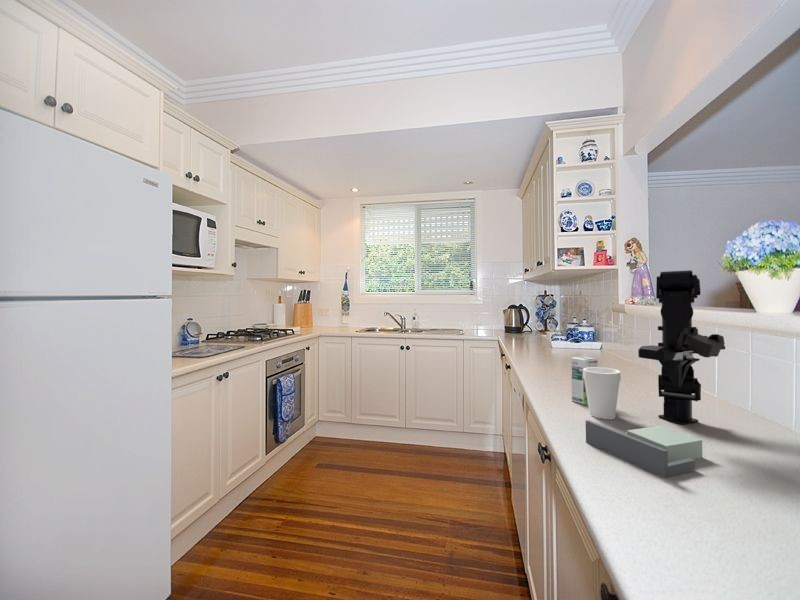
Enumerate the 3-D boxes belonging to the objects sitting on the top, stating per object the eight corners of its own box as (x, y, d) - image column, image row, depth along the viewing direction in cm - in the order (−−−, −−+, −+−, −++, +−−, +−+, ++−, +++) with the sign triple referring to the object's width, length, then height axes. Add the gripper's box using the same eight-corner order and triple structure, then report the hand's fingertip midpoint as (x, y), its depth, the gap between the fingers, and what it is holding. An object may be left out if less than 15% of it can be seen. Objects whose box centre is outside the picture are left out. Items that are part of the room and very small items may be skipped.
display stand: (613, 437, 86) (612, 416, 86) (695, 470, 69) (694, 444, 69) (585, 441, 83) (585, 420, 83) (664, 477, 66) (663, 451, 66)
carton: (660, 442, 83) (660, 425, 83) (702, 459, 74) (702, 440, 74) (626, 448, 80) (626, 430, 80) (666, 465, 72) (666, 446, 72)
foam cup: (621, 423, 95) (620, 375, 95) (582, 417, 100) (581, 371, 100) (621, 413, 103) (620, 369, 103) (585, 408, 108) (584, 366, 108)
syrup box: (570, 401, 116) (570, 357, 116) (583, 398, 119) (582, 355, 119) (586, 405, 111) (585, 359, 111) (598, 403, 114) (598, 358, 114)
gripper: (685, 325, 75) (687, 399, 75) (742, 323, 81) (743, 391, 81) (636, 323, 86) (637, 387, 86) (689, 320, 92) (690, 380, 92)
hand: (677, 386), depth 86 cm, fingers closed
